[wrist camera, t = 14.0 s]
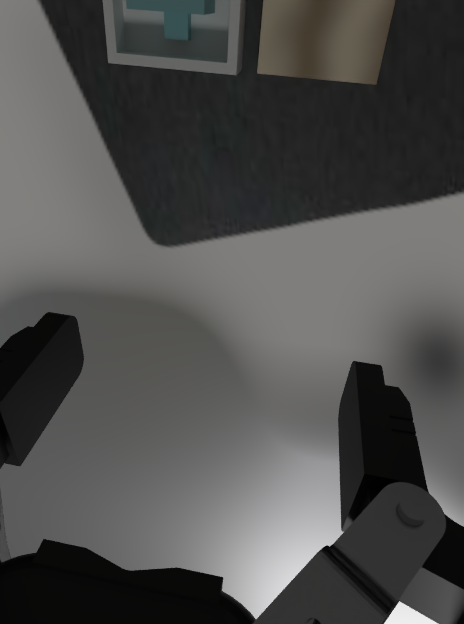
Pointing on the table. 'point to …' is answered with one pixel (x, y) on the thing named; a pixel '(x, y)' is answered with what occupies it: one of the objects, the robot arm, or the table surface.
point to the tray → (177, 53)
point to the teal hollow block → (175, 14)
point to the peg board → (324, 38)
